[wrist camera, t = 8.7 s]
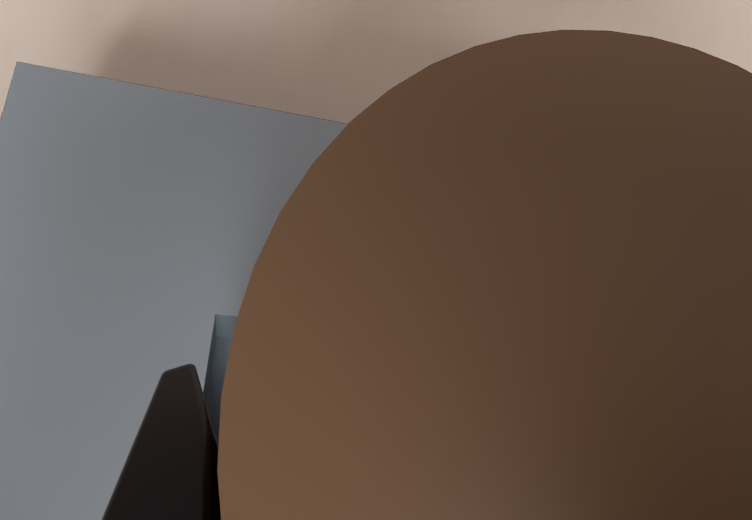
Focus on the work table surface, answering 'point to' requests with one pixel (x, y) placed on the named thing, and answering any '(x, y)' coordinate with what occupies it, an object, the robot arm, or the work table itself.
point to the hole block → (122, 265)
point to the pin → (509, 298)
